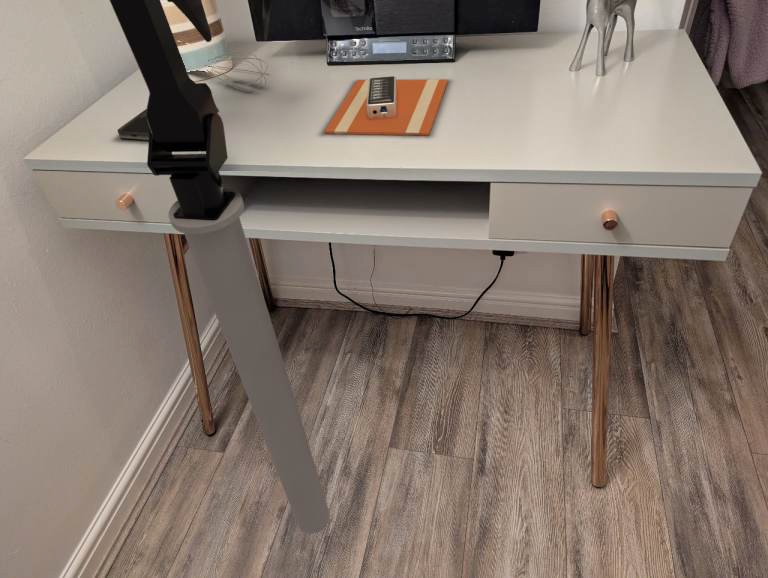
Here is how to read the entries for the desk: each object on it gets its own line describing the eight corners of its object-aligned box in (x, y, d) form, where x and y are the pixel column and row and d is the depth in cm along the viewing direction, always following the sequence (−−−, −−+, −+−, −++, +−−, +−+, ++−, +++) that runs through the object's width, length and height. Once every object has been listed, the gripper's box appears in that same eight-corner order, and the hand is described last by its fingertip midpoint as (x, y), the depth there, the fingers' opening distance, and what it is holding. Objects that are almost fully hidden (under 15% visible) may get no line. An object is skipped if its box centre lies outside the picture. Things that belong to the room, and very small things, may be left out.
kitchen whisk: (173, 58, 121) (162, 27, 117) (281, 88, 104) (273, 52, 100) (148, 68, 118) (136, 36, 114) (255, 101, 100) (246, 64, 96)
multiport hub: (396, 89, 97) (395, 75, 96) (396, 117, 89) (395, 102, 87) (370, 91, 97) (369, 77, 96) (368, 119, 89) (366, 105, 88)
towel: (428, 135, 84) (428, 132, 84) (325, 133, 88) (324, 131, 87) (447, 81, 99) (447, 79, 98) (358, 82, 102) (357, 79, 102)
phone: (204, 95, 101) (154, 134, 90) (206, 101, 101) (157, 141, 91) (166, 93, 103) (113, 131, 92) (168, 99, 104) (116, 138, 93)
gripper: (291, -96, 81) (311, 22, 91) (173, -86, 85) (204, 25, 95) (262, -80, 73) (287, 46, 83) (133, -71, 77) (172, 48, 87)
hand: (236, 40), depth 87 cm, fingers open, 9 cm apart
